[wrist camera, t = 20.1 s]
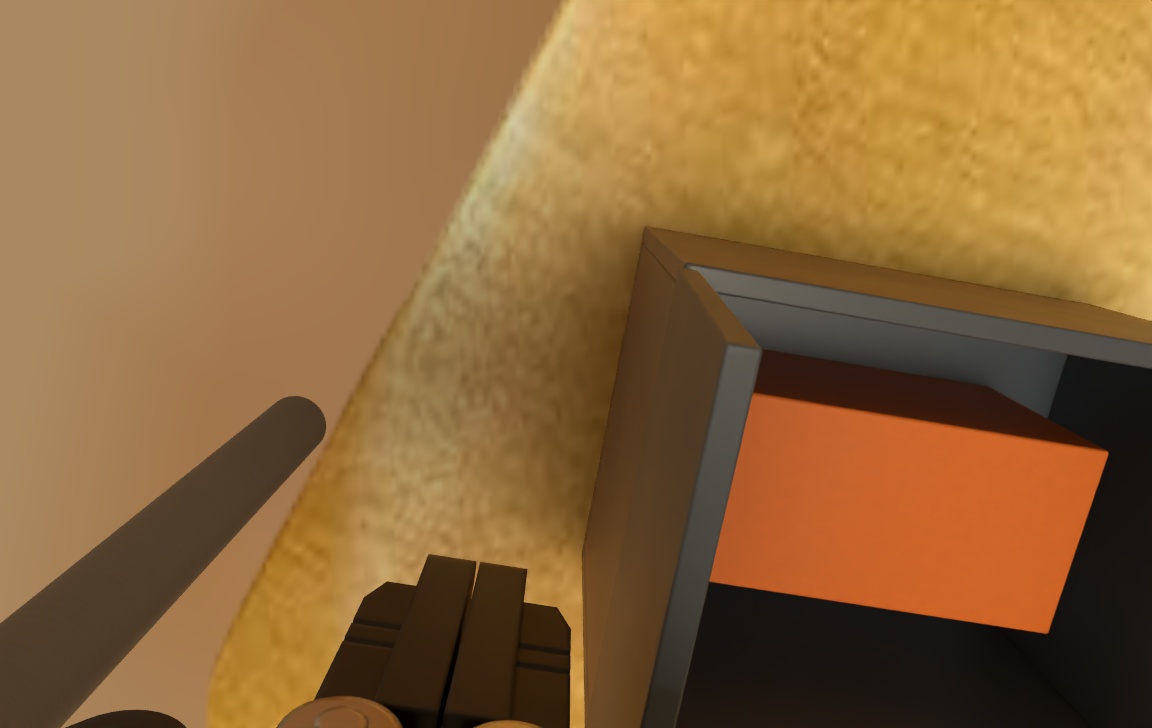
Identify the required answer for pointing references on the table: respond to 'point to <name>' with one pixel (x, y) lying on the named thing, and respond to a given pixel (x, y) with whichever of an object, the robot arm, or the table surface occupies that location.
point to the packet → (904, 495)
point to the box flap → (675, 509)
